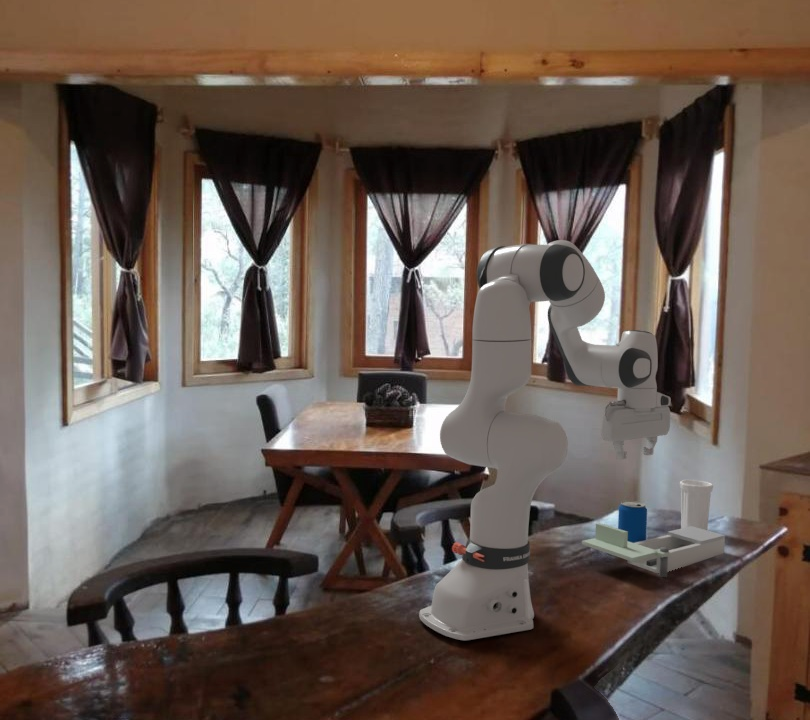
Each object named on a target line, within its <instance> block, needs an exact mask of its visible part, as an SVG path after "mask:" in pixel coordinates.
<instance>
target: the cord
mask: <svg viewBox="0 0 810 720" xmlns="http://www.w3.org/2000/svg"><path fill="white" fill-rule="evenodd" d="M646 565H647V566H654V565H657V558H656V559H652V560H648V561H647V563H646Z"/></svg>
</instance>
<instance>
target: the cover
mask: <svg viewBox="0 0 810 720" xmlns="http://www.w3.org/2000/svg"><path fill="white" fill-rule="evenodd" d="M627 540H628V532H627V531H624V530H621V529H618V527H617V528H616V527H615V526H614V527H613V526H612V525H607V524H604V523H600V522H598V523H595V535H594V538H588V539H585V540H581V545H582V546H586V547H587V548H588V547H589V548H592V549H595V550H597V551H600V552H603V553H606V554H609V555H612V556H615V557H618V558H621V559H623V560H627V561H628V560H629V561H632V562H634V561H637V560H641V559H645V558H649V557H653V556H659V557H666V556H670V552H669V548H666V547H660V549H657V550H654V549H651V548H648V547H645V546H641V545H638V544H635V543H632V542H629V541H627Z"/></svg>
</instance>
